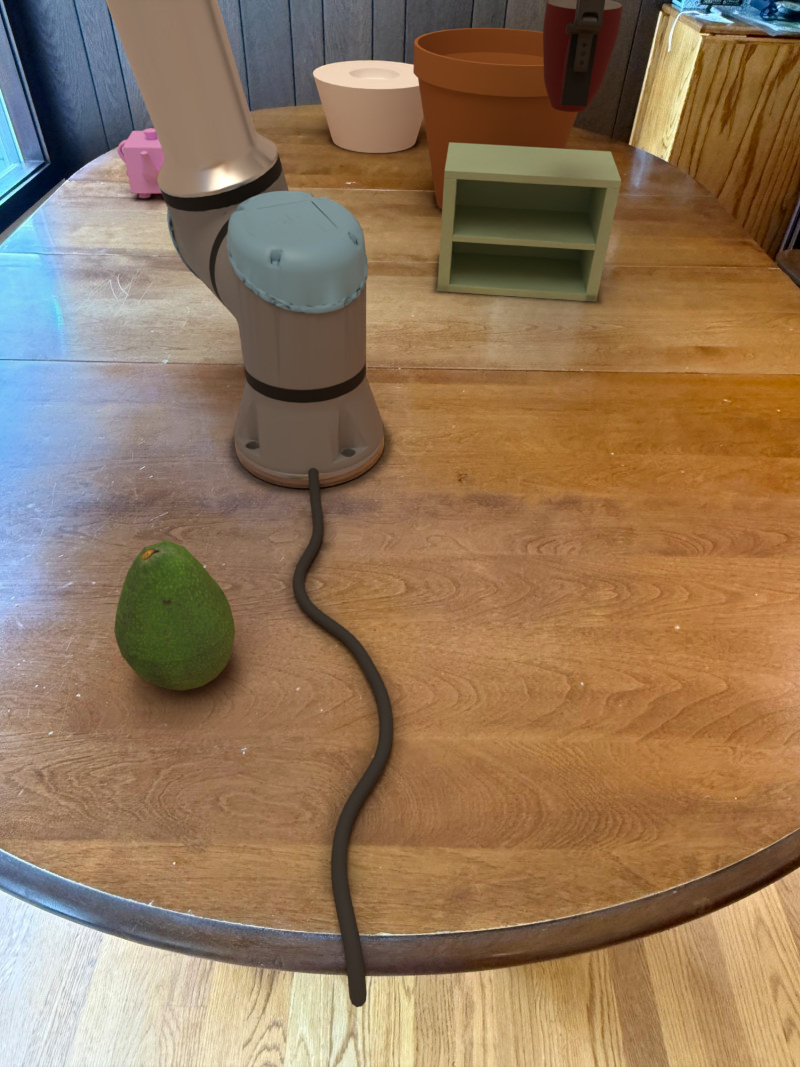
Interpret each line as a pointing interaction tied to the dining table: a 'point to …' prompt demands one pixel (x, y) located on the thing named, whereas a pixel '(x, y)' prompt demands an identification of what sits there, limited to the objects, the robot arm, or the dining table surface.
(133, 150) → the teapot
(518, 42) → the flowerpot
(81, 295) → the dining table surface
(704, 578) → the dining table surface
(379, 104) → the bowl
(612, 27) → the mug
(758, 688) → the dining table surface
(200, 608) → the fruit
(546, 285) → the shelf unit
